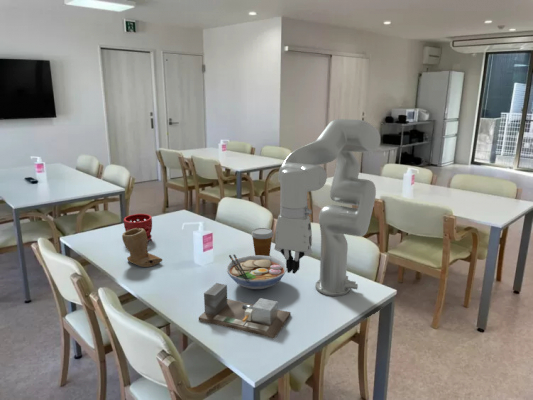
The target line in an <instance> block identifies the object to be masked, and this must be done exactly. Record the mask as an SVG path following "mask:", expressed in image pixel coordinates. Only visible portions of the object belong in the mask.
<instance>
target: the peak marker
mask: <svg viewBox="0 0 533 400" xmlns="http://www.w3.org/2000/svg"><path fill="white" fill-rule="evenodd" d="M246 320H247V321H251V320H252V309H248V308H247V309H246V311H245V318H244V319H243V320H242V321H243V322H245V321H246Z"/></svg>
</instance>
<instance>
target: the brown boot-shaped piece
mask: <svg viewBox="0 0 533 400" xmlns="http://www.w3.org/2000/svg"><path fill="white" fill-rule="evenodd" d="M121 237H122V238H121V239H122V241H123V244H124V246H125V248H126V249H127V251H128V252H129V253H128V254H129V256H128V257H127V261H128V262H130V263H132V264H134V265H137V266H138V267H142V268H149V267H151V268H152V267H154V266H156V265H158V264H160V263H162V262H163V258H161V257H160V256H157V255H154V254H152V253H150V252H148V251H149V250H148V242H149V241H148V239H147V234H146V231H145V230H144V229H143V228H142V229H140V228H135V229H131V230H128V231H124V232H123V233H122V235H121Z"/></svg>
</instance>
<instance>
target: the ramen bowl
mask: <svg viewBox="0 0 533 400" xmlns="http://www.w3.org/2000/svg"><path fill="white" fill-rule="evenodd" d="M228 258H229V259H230V260H231V261H230V262H229V263H228V264H227V265H226V272H227V274H228V276H229V277H230V278H231V279H232V280H233V281H234V282H235V283H236V284H237V285H239V286H241V287H244V288H246V289H251V290H263V289H266V288H267V289H268V288H271V287H272V286H274V285H276V284H278V283H279V282H280V281H281V280H282V279H283V277H284V276H285V274H286V272H287V270H288V269H287V268H286V261H283V260H282V259H280V258H277V257H275V256H262V255H257V256H255V255H246V256H241V257H237V255H236V254H233V255H231V254H229V255H228Z"/></svg>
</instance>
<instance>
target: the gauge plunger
mask: <svg viewBox="0 0 533 400" xmlns="http://www.w3.org/2000/svg"><path fill="white" fill-rule="evenodd" d="M247 308H248V309H252V321H253V322H258V323H262V324H267V325H271V324H272V322H273V321H274V320H275V318H276V317H277V309H278V301H275V300H271V299H265V298H263V297H262V298H261V297H260V298H258V300H257V301H256V302H255V303H254V305H253V306H250V305H245V304H243V307H242V309H244V310H246V309H247Z"/></svg>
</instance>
